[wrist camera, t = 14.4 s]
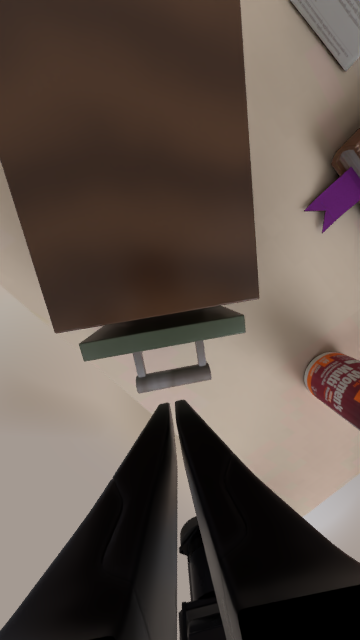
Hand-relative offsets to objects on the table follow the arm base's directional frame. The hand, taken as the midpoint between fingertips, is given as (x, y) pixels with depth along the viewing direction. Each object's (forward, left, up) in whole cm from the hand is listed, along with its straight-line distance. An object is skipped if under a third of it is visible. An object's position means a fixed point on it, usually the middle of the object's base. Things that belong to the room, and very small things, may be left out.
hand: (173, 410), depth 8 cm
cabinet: (+8, +7, -13) cm, 17 cm away
